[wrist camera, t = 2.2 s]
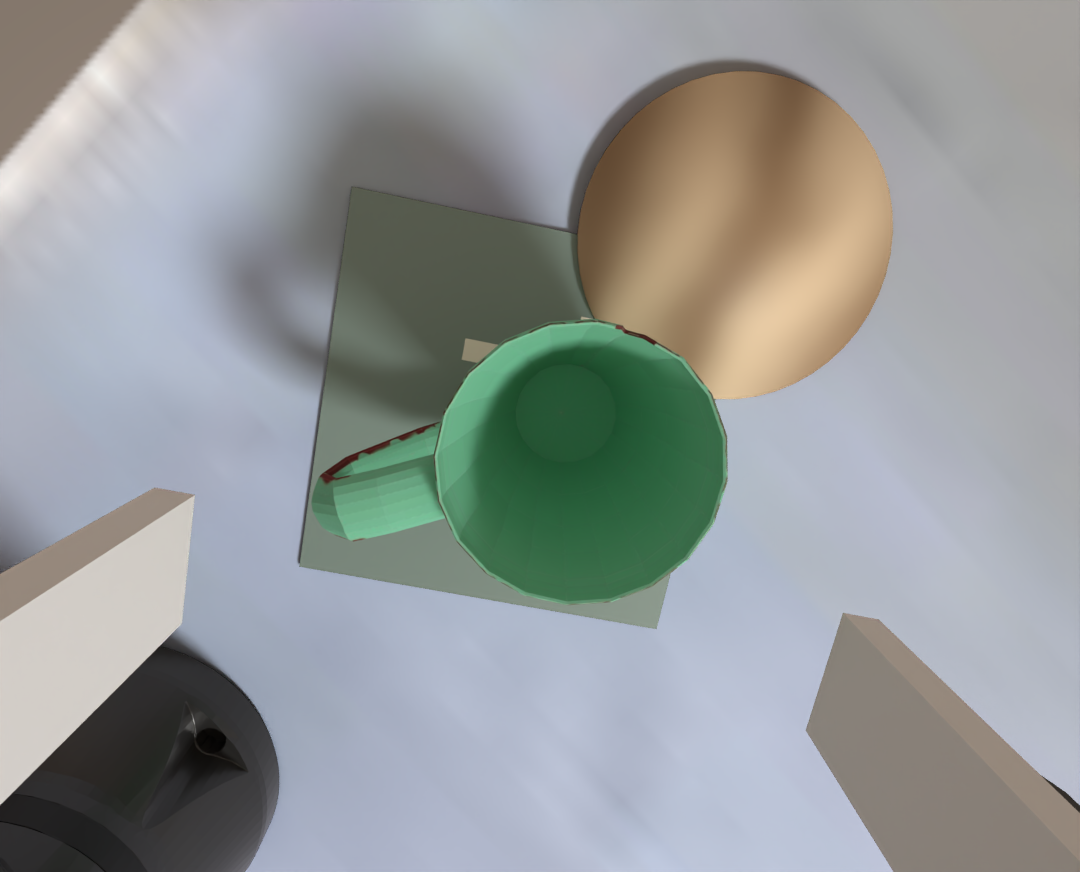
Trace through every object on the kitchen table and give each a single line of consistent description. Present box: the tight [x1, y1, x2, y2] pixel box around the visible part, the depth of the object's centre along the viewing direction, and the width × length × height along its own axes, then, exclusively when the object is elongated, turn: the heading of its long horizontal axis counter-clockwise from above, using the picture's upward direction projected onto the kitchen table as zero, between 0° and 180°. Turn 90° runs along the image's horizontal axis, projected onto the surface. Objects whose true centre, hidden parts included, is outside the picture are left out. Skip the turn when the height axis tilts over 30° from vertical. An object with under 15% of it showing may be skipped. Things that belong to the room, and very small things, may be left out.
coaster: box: [577, 71, 893, 399], centre depth 31 cm, size 14×14×1 cm
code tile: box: [299, 187, 715, 629], centre depth 33 cm, size 18×18×1 cm
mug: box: [311, 319, 727, 605], centre depth 28 cm, size 15×10×10 cm
